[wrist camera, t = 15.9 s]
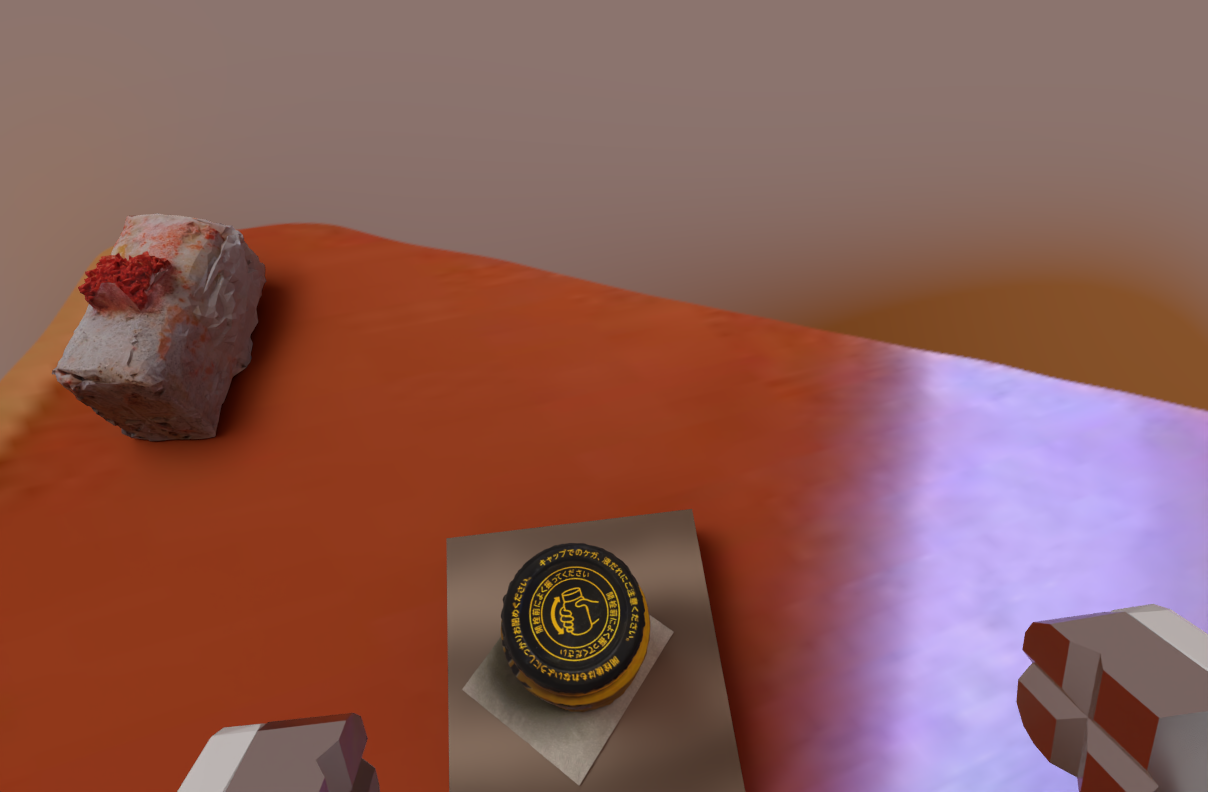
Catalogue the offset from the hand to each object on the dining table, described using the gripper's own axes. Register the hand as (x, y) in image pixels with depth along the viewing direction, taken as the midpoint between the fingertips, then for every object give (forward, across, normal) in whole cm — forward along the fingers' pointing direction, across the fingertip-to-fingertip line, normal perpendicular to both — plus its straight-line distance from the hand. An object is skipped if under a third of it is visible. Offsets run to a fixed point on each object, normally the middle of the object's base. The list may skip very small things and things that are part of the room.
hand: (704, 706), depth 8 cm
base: (+24, +2, +20) cm, 32 cm away
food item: (+42, +27, +3) cm, 49 cm away
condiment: (+22, +3, +17) cm, 28 cm away
